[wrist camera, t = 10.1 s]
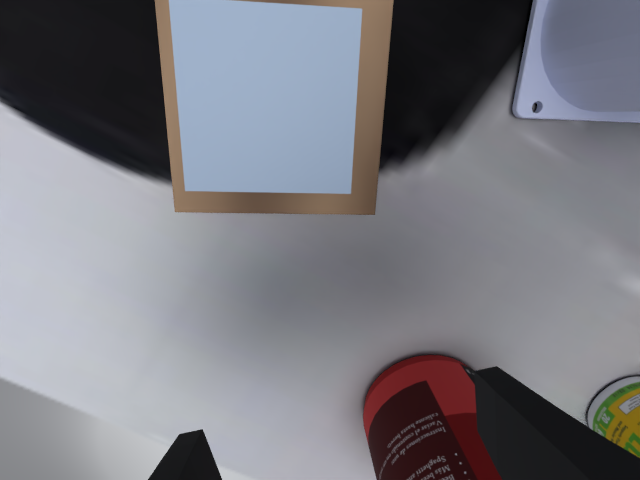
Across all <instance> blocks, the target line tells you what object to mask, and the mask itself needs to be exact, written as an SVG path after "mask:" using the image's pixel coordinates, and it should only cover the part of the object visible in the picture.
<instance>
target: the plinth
mask: <svg viewBox="0 0 640 480" xmlns="http://www.w3.org/2000/svg"><path fill="white" fill-rule="evenodd" d="M234 1H250V2H265V3H281V4H297V5H313V6H329V7H345V8H360V9H362V22H361V38H360V54H359V70H358V86H357V103H356V119H355V135H354V151H353V167H352V183H351V194H331V193H271V192H210V191H185V184H184V173H183V161H182V149H181V138H180V126H179V114H178V103H177V91H176V79H175V68H174V56H173V44H172V33H171V21H170V9H169V0H155V6H156V17H157V27H158V38H159V49H160V59H161V70H162V80H163V91H164V101H165V112H166V123H167V133H168V144H169V154H170V165H171V175H172V186H173V197H174V207H175V212H205V213H280V214H356V215H375V207H376V195H377V184H378V172H379V161H380V149H381V138H382V126H383V114H384V103H385V91H386V80H387V68H388V57H389V45H390V33H391V22H392V10H393V0H234Z"/></svg>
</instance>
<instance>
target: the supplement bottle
mask: <svg viewBox="0 0 640 480" xmlns="http://www.w3.org/2000/svg"><path fill="white" fill-rule="evenodd" d="M588 425H589V428H590V429H592V430H594V431H595V432H597V433H598V434H600V435H602V436H603V437H605V438H607V439H608V440H610V441H612V442H613V443H615V444H617V445H618V446H620V447H622V448H624V449H625V450H627V451H629V452H630V453H632V454H634V455H636V456H637V457H639V458H640V377H629V378H625V379H622V380H620V381H617V382H615V383H613V384H611V385H610V386H608V387H607V388H605V389H604V390H603V391H602V392H601V393H600V394H599V395H598V396H597V397H596V398H595V399H594V401H593V402H592V404H591V406H590V408H589V411H588Z"/></svg>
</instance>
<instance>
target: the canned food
mask: <svg viewBox="0 0 640 480" xmlns="http://www.w3.org/2000/svg"><path fill="white" fill-rule="evenodd" d="M363 421H364V429H365V433H366V437H367V441H368V445H369V449H370V454H371V458H372V462H373V466H374V470H375V474H376V479H377V480H502V478H501V476H500V475H499V473H498V471H497V470H496V468H495V466H494V464H493V462H492V460H491V458H490V456H489V454H488V452H487V450H486V448H485V445H484V443H483V441H482V439H481V437H480V435H479V433H478V431H477V416H476V398H475V379H474V370H472V369H471V368H469V367H468V366H466V365H465V364H463V363H462V362H460V361H458V360H455V359H453V358H450V357H446V356H441V355H423V356H416V357H412V358H409V359H405V360H403V361H401V362H399V363H397V364H394V365H393V366H391V367H390V368H388V369H387V370H385V371H384V372H383V373H382V374H381V375H380V376H379V377H378V378H377V379H376V380H375V381H374V383H373V384H372V386H371V387H370V389H369V391H368V393H367V396H366V400H365V406H364V413H363Z"/></svg>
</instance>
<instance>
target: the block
mask: <svg viewBox="0 0 640 480" xmlns="http://www.w3.org/2000/svg"><path fill="white" fill-rule="evenodd" d="M169 9H170V21H171V33H172V44H173V56H174V68H175V79H176V91H177V103H178V114H179V126H180V138H181V149H182V161H183V173H184V184H185V191H210V192H271V193H331V194H351V183H352V167H353V151H354V135H355V119H356V103H357V86H358V70H359V54H360V38H361V22H362V9H360V8H345V7H329V6H313V5H297V4H281V3H265V2H250V1H234V0H169Z"/></svg>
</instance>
